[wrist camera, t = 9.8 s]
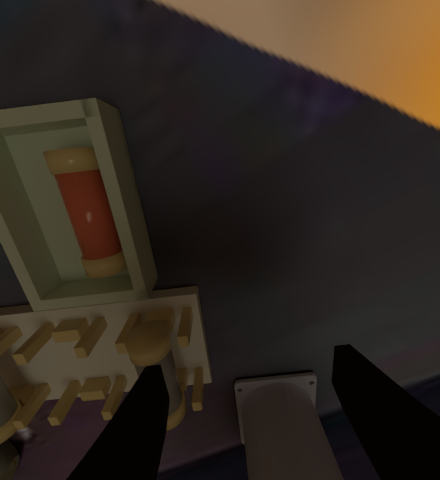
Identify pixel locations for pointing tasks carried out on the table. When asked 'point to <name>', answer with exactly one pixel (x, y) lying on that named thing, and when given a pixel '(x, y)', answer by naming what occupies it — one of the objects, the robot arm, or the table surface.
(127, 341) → the fuse
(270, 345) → the table surface
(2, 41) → the table surface
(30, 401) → the fuse holder
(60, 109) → the tray
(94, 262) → the cylinder
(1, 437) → the fuse
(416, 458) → the robot arm
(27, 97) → the table surface
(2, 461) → the air freshener
